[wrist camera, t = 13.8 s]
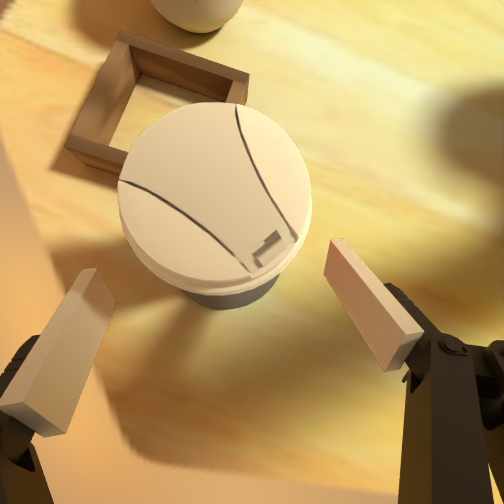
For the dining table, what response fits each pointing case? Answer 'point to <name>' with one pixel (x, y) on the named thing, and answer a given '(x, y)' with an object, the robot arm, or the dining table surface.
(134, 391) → the dining table surface
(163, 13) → the teacup
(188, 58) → the collar
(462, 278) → the dining table surface
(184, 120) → the paper cup
